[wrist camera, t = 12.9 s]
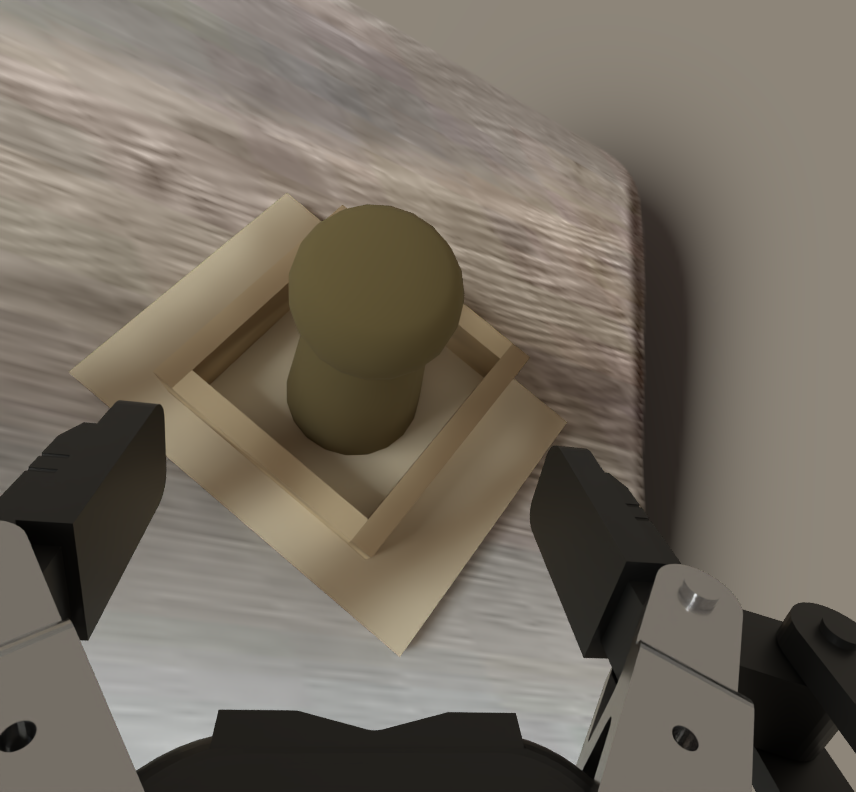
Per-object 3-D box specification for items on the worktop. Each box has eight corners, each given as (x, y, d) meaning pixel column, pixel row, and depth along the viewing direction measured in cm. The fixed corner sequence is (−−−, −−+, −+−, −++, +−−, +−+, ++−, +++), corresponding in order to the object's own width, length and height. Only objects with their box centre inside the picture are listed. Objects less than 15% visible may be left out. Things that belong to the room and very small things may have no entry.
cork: (413, 463, 25) (487, 382, 14) (275, 446, 24) (249, 347, 13) (424, 340, 27) (495, 192, 16) (297, 320, 26) (288, 149, 15)
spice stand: (78, 380, 24) (40, 348, 21) (287, 205, 28) (284, 157, 25) (396, 653, 23) (410, 666, 20) (558, 427, 28) (591, 407, 24)
